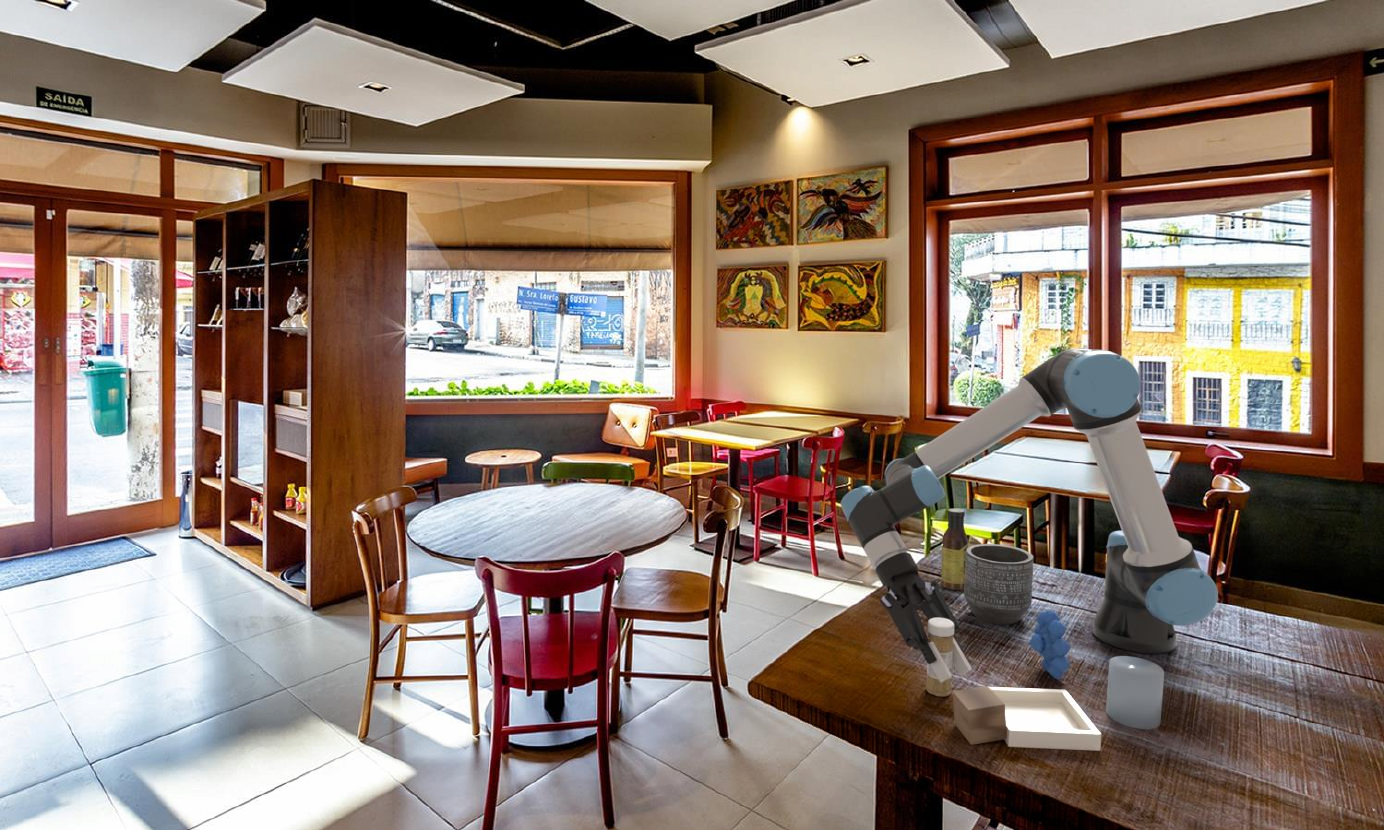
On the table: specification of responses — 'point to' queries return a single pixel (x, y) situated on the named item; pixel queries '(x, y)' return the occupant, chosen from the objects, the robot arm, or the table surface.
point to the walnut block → (979, 715)
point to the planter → (998, 582)
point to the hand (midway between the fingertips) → (956, 675)
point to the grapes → (1051, 643)
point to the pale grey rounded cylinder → (1135, 692)
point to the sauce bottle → (954, 551)
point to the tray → (1046, 720)
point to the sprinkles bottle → (943, 640)
